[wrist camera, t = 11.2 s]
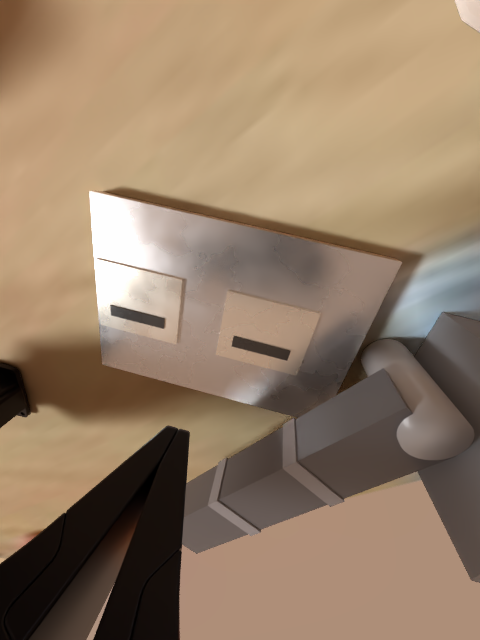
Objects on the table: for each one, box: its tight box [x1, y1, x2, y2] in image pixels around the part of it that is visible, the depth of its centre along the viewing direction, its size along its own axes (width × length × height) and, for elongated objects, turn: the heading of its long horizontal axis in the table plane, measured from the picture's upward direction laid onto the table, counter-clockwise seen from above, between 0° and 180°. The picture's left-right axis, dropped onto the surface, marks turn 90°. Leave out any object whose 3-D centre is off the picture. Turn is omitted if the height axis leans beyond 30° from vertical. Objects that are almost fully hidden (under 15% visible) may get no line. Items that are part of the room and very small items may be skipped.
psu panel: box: [89, 191, 402, 418], centre depth 17 cm, size 18×13×2 cm
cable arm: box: [182, 339, 474, 554], centre depth 18 cm, size 22×4×7 cm, turn 138°
